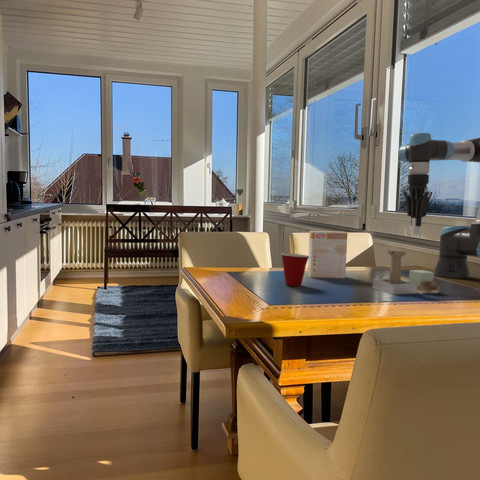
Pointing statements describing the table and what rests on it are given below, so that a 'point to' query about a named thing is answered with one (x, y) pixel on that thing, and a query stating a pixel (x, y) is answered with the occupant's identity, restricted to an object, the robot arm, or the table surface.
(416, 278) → the pale green cube
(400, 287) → the winch housing
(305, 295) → the table surface
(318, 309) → the table surface
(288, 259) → the plastic cup
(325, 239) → the coffeecake box
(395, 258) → the handle
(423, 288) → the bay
